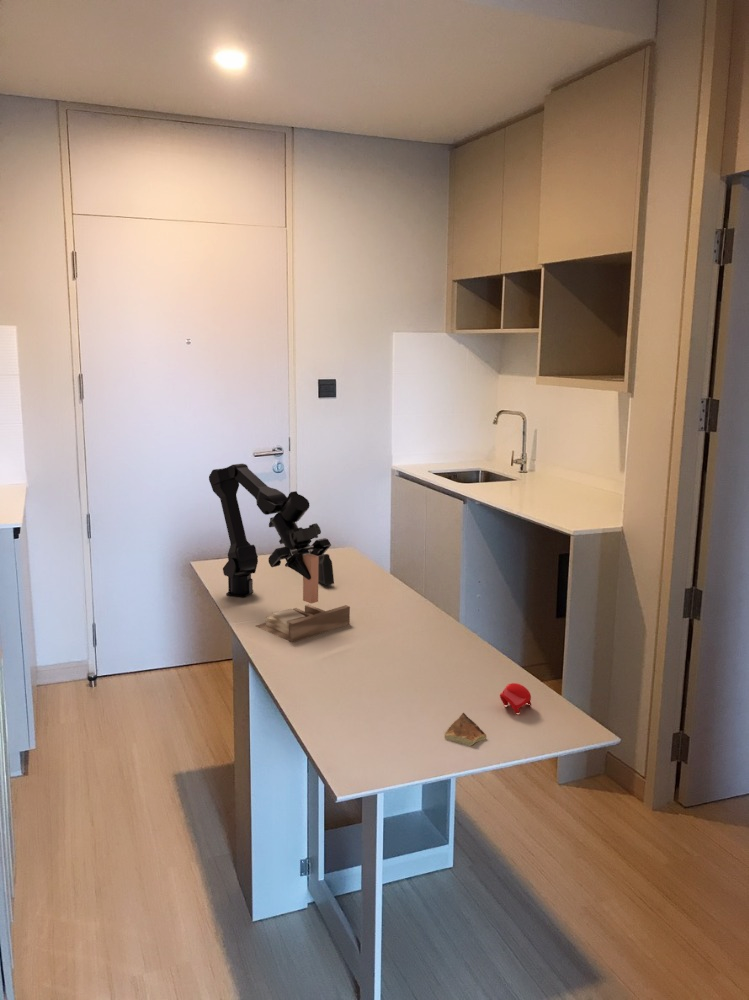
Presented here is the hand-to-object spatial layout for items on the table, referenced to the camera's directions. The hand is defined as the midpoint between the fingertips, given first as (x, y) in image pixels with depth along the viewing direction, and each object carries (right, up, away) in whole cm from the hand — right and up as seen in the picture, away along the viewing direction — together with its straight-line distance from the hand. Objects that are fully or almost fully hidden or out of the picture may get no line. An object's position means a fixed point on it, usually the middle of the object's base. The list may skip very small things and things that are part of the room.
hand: (314, 577), depth 218 cm
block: (-1, -7, +2) cm, 7 cm away
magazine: (-4, -4, +48) cm, 48 cm away
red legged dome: (+47, -24, -45) cm, 70 cm away
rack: (-3, -14, -1) cm, 14 cm away
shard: (+34, -27, -56) cm, 71 cm away
